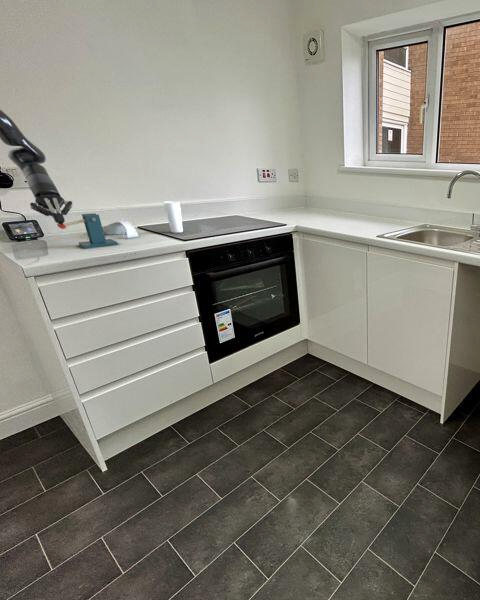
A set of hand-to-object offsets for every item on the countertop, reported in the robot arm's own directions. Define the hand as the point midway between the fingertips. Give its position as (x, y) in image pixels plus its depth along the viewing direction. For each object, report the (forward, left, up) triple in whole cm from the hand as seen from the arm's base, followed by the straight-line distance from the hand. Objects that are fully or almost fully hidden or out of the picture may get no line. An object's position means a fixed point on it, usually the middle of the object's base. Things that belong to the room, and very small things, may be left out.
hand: (61, 222), depth 138 cm
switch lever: (+4, +3, -2) cm, 6 cm away
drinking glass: (+32, +31, -11) cm, 46 cm away
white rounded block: (+9, +27, -11) cm, 31 cm away
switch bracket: (+8, +5, -10) cm, 14 cm away
